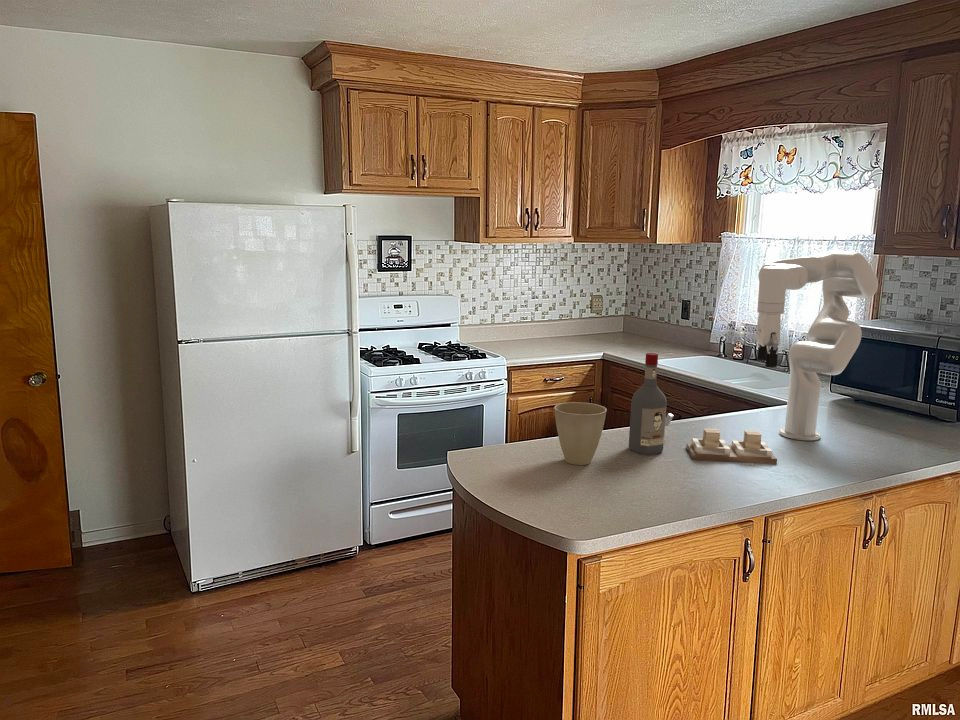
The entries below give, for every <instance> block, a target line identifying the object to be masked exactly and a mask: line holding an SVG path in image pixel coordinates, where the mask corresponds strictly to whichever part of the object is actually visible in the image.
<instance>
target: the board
mask: <svg viewBox="0 0 960 720" xmlns="http://www.w3.org/2000/svg"><path fill="white" fill-rule="evenodd" d="M702 442H703V438H697V437H696V438H695V437H692V438H691V442H686V447H687V448H686V449H688V450H687V451H688V453H689V455H690V456H691V458H693V459H692V461H693V460H694V461H695V460H696V461H709V462H711V461H712V462H714V461H715V462H728V463H729V462H730V463H753V464H769V465H772V464H773V465H777V464H778V458H777V456H776V455H774V454H773V450H772V449H771V448H770V447H769V446H768V445H767V444H766V442H765V441H762V433H761V432H760V431H759V430H744V431H743V440H741V439H740V440H739V439H737V440H736V439H732V440H731V444H727V442H726V440H725V439H719V447H711V446H702Z"/></svg>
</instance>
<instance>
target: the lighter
mask: <svg viewBox="0 0 960 720" xmlns="http://www.w3.org/2000/svg"><path fill="white" fill-rule="evenodd" d="M673 418H674V414H672V412H670V413H667V414H666V417H665V427H668V426H670V423H672V420H673ZM665 432H666V430H665V431H664V436H666V435H665Z"/></svg>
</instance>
